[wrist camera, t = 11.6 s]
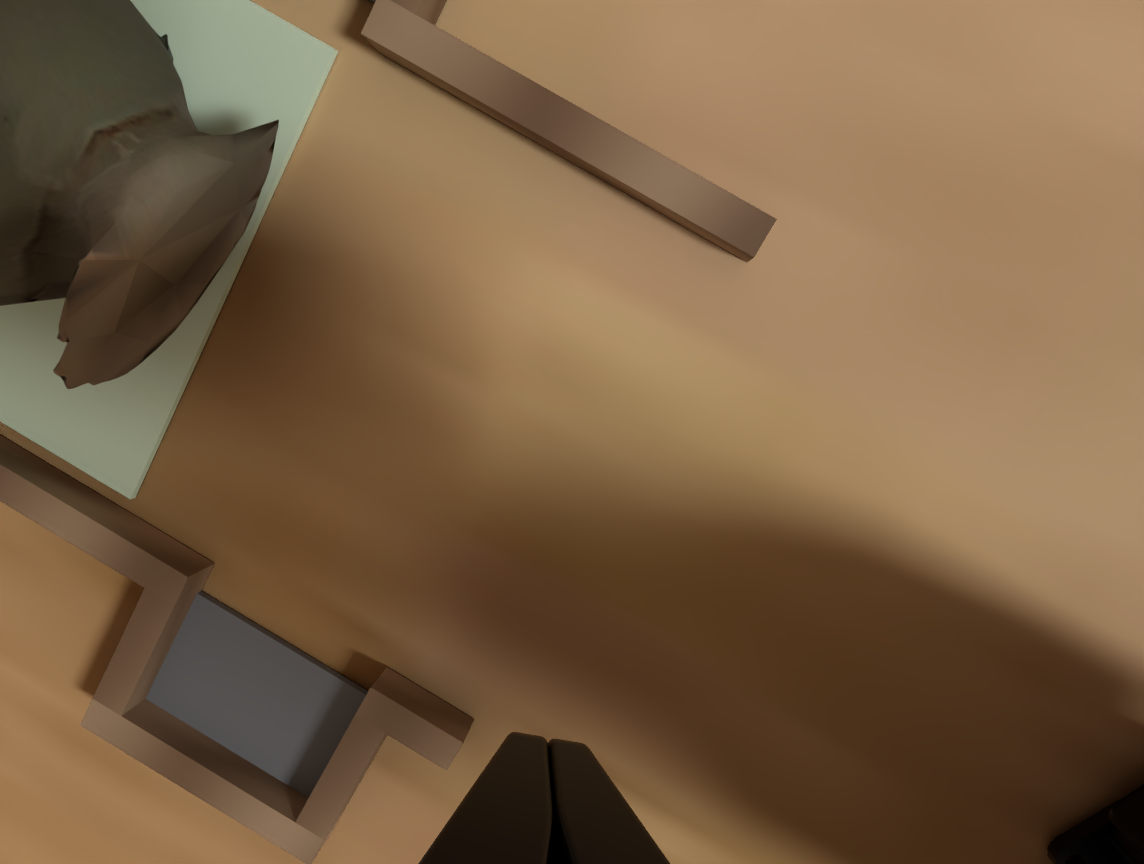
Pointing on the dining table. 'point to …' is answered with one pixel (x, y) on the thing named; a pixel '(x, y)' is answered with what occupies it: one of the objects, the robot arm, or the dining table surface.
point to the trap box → (181, 573)
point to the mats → (255, 693)
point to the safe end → (154, 388)
